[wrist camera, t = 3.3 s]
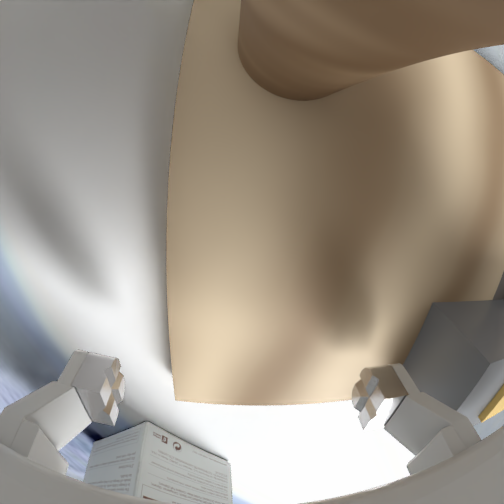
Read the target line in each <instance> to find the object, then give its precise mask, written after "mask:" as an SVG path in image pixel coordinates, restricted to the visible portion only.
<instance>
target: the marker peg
mask: <svg viewBox="0 0 504 504" xmlns="http://www.w3.org/2000/svg"><path fill="white" fill-rule="evenodd" d="M503 44H504V0H241V8H240V20H239V32H238V54H239V58H240V61H241V63H242V66H243V67H244V69H245V71H246V72H247V73H248V75H249V76H250V77H251V78H252V79H253V80H254V81H255V82H256V83H257V84H258V85H259V86H261V87H262V88H263V89H265V90H267V91H268V92H270V93H272V94H274V95H277V96H279V97H282V98H286V99H290V100H297V101H309V100H316V99H320V98H323V97H326V96H328V95H331V94H333V93H335V92H338V91H340V90H343V89H345V88H348V87H350V86H353V85H355V84H358V83H360V82H363V81H366V80H368V79H371V78H374V77H377V76H379V75H382V74H385V73H388V72H391V71H394V70H397V69H400V68H403V67H407V66H410V65H413V64H416V63H420V62H423V61H427V60H431V59H434V58H438V57H442V56H446V55H450V54H454V53H459V52H463V51H468V50H473V49H478V48H484V47H490V46H496V45H503Z"/></svg>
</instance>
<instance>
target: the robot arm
mask: <svg viewBox="0 0 504 504" xmlns="http://www.w3.org/2000/svg"><path fill="white" fill-rule="evenodd" d="M120 367H121V365H120V362H119V359H117V358H114V357H110V356H105V355H101V354H97V353H92V352H87V351H83V350H79V349H77V350H76V351H74V353H73V354H72V356H71V358H70V359H69V361H68V363H67V365H66V366H65V368H64V370H63V372H62V373H61V375H60V377H59V379H58V381H57V382H56V381H52V382H50V383H48V384H47V385H45V386H43V387H41V388H39V389H38V390H36V391H34V392H32V393H30V394H29V395H27V396H25V397H23V398H21V399H20V400H18V401H16V402H14V403H12V404H10V405H9V406H7V407H5V408H4V410H3V411H2V413H1V415H0V504H175V503H168V502H161V501H155V500H150V499H145V498H140V497H135V496H131V495H126V494H122V493H118V492H115V491H111V490H108V489H104V488H101V487H97V486H94V485H91V484H88V483H85V482H82V481H80V480H77V479H74V478H71V477H69V476H66V472H67V469H68V465H69V464H68V462H67V461H66V459H65V458H64V457H63V456H62V455H61V454H60V453H59V452H58V451H59V450H60V449H61V448H63V447H64V446H65V445H66V444H67V443H68V442H70V441H71V440H72V439H73V438H74V437H75V436H77V435H78V434H79V433H80V432H81V431H82V430H84V429H85V428H86V427H87V426H88V425H89V424H91V423H92V422H91V421H93V422H97V423H102V424H106V425H110V426H115V423H116V420H117V417H118V413H119V409H118V407H117V405H118V404H119V403H120V402H122V401H123V397H124V393H125V380H124V376H123V375H122V374H121V373H120V372H119V370H120ZM359 376H360V378H361V379H360V380H359V381H358V382H357V383H355V385H354V387H353V389H352V403H353V405H354V408H356V409H357V410H358V411H360V413H359V416H358V418H359V420H360V423H361V425H362V428H363V430H364V431H365V430H371V429H376V428H381V427H384V429H385V430H386V431H387V432H388V433H390V434H391V435H392V436H393V437H394V438H395V439H397V440H398V441H399V442H400V443H401V444H402V445H404V446H405V447H406V448H407V449H408V450H410V451H411V452H412V453H413V454H414V455H416V456H415V457H414V458H413V459H412V460H411V461H410V462H409V463H408V464H407V468H408V471H409V473H410V476H407V477H405V478H402V479H399V480H397V481H394V482H391V483H388V484H385V485H382V486H378V487H375V488H372V489H368V490H365V491H361V492H357V493H353V494H349V495H345V496H340V497H336V498H331V499H325V500H320V501H314V502H307V503H300V504H504V426H503V427H501V428H500V429H498V430H497V431H495V432H494V433H492V434H491V435H489V436H488V437H486V438H484V439H483V440H481V439H480V437H479V435H478V434H477V432H476V430H475V429H474V427H473V426H472V424H471V422H470V421H469V419H468V418H467V417H466V416H464V415H462V414H461V413H459V412H457V411H455V410H454V409H452V408H450V407H448V406H447V405H445V404H443V403H442V402H440V401H438V400H436V399H435V398H433V397H431V396H430V395H428V394H426V393H424V392H420V391H419V389H418V388H417V386H416V385H415V383H414V382H413V380H412V378H411V377H410V375H409V374H408V372H407V371H406V369H405V368H404V366H403V365H402V364H400V363H397V364H390V365H382V366H374V367H366V368H364V369H363V370H362V371H361V373H360V375H359Z"/></svg>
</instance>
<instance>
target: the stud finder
mask: <svg viewBox="0 0 504 504" xmlns="http://www.w3.org/2000/svg"><path fill="white" fill-rule="evenodd" d="M403 366H404V368H405V369H406V371H407V372H408V374H409V375H410V377H411V378H412V380H413V382H414V383H415V385H416V386H417V388H418V389H419V391H420V392H424V393H426V394H428V395H430V396H431V397H433V398H435V399H436V400H438V401H440V402H442V403H443V404H445V405H447V406H448V407H450V408H452V409H454V410H455V411H457V412H459V413H461V414H462V415H464V416H466V417H467V418H468V419H469V421H470V422H471V424H472V426H475V425H477V424H479V423H480V422H484V421H485V420H487V419H489V418H491V417H492V416H494V415H496V414H497V413H499V412H501V411H502V410H504V299H501V300H484V301H462V302H433V303H432V305H431V308H430V310H429V312H428V315H427V317H426V319H425V321H424V323H423V326H422V328H421V330H420V332H419V334H418V336H417V338H416V340H415V342H414V344H413V346H412V348H411V350H410V352H409V354H408V356H407V358H406V360H405V362H404V363H403Z"/></svg>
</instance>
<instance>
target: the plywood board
mask: <svg viewBox="0 0 504 504" xmlns="http://www.w3.org/2000/svg"><path fill="white" fill-rule="evenodd" d="M240 8H241V0H194V2H193V6H192V10H191V15H190V19H189V24H188V29H187V34H186V39H185V44H184V49H183V55H182V61H181V67H180V73H179V80H178V87H177V94H176V102H175V110H174V119H173V128H172V138H171V150H170V163H169V178H168V197H167V231H166V272H167V306H168V325H169V341H170V354H171V365H172V375H173V385H174V393H175V400H177V401H186V402H196V403H208V404H225V405H296V404H312V403H325V402H335V401H344V400H352V389H353V387H354V385H355V383H357V382H358V381H359V380H360V379H361V378H360V376H359V375H360V373H361V371H362V370H363V369H364V368H366V367H374V366H382V365H390V364H397V363H400V364H402V365H403V363H404V362H405V360H406V358H407V356H408V354H409V352H410V350H411V348H412V346H413V344H414V342H415V340H416V338H417V336H418V334H419V332H420V330H421V328H422V326H423V323H424V321H425V319H426V317H427V315H428V312H429V310H430V308H431V305H432V303H433V302H462V301H484V300H501V299H504V75H503V74H502V73H501V72H500V71H499V70H498V69H496V68H495V67H494V66H493V65H492V64H490V63H489V62H488V61H487V60H485V59H484V58H483V57H482V56H480V55H479V54H478V53H476V52H475V51H474V50H468V51H463V52H459V53H454V54H450V55H446V56H442V57H438V58H434V59H431V60H427V61H423V62H420V63H416V64H413V65H410V66H407V67H403V68H400V69H397V70H394V71H391V72H388V73H385V74H382V75H379V76H377V77H374V78H371V79H368V80H366V81H363V82H360V83H358V84H355V85H353V86H350V87H348V88H345V89H343V90H340V91H338V92H335V93H333V94H331V95H328V96H326V97H323V98H320V99H316V100H309V101H297V100H290V99H286V98H282V97H279V96H277V95H274V94H272V93H270V92H268V91H267V90H265V89H263V88H262V87H261V86H259V85H258V84H257V83H256V82H255V81H254V80H253V79H252V78H251V77H250V76H249V75H248V73H247V72H246V71H245V69H244V67H243V66H242V63H241V61H240V58H239V54H238V32H239V20H240Z"/></svg>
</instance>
